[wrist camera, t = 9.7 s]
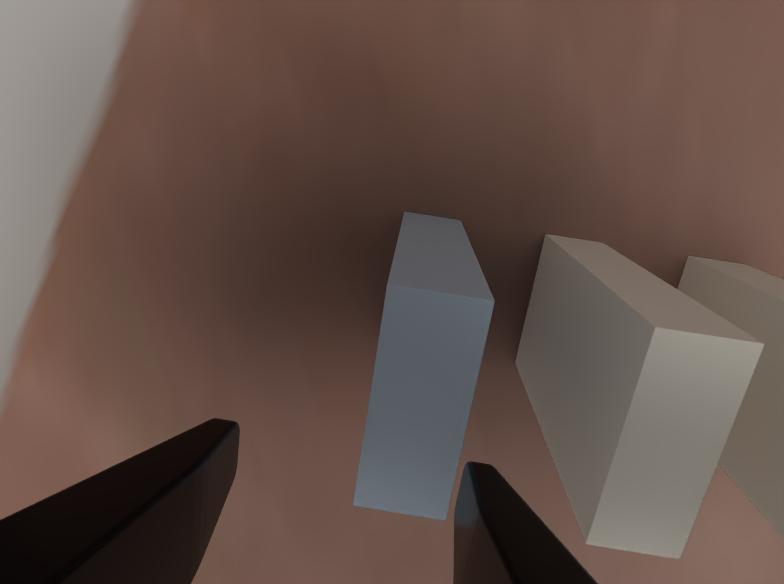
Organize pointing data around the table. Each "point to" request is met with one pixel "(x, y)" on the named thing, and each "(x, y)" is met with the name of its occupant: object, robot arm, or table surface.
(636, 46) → the table surface
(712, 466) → the domino
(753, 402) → the domino
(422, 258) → the domino
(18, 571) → the robot arm
